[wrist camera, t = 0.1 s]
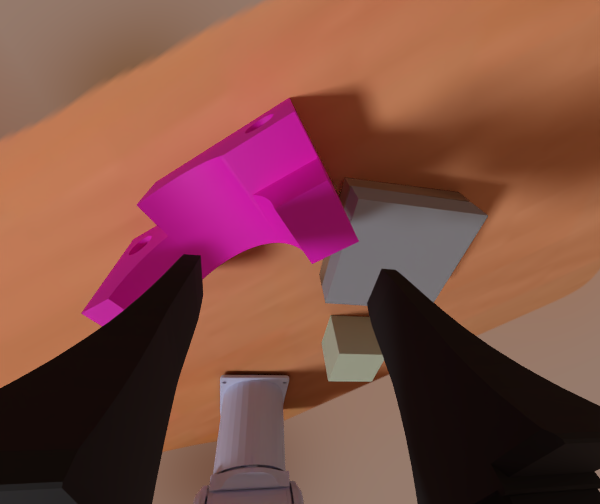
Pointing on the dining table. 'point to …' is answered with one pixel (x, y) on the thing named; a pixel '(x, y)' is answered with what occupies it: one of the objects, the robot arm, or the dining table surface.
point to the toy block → (232, 208)
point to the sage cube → (351, 349)
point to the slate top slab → (400, 242)
